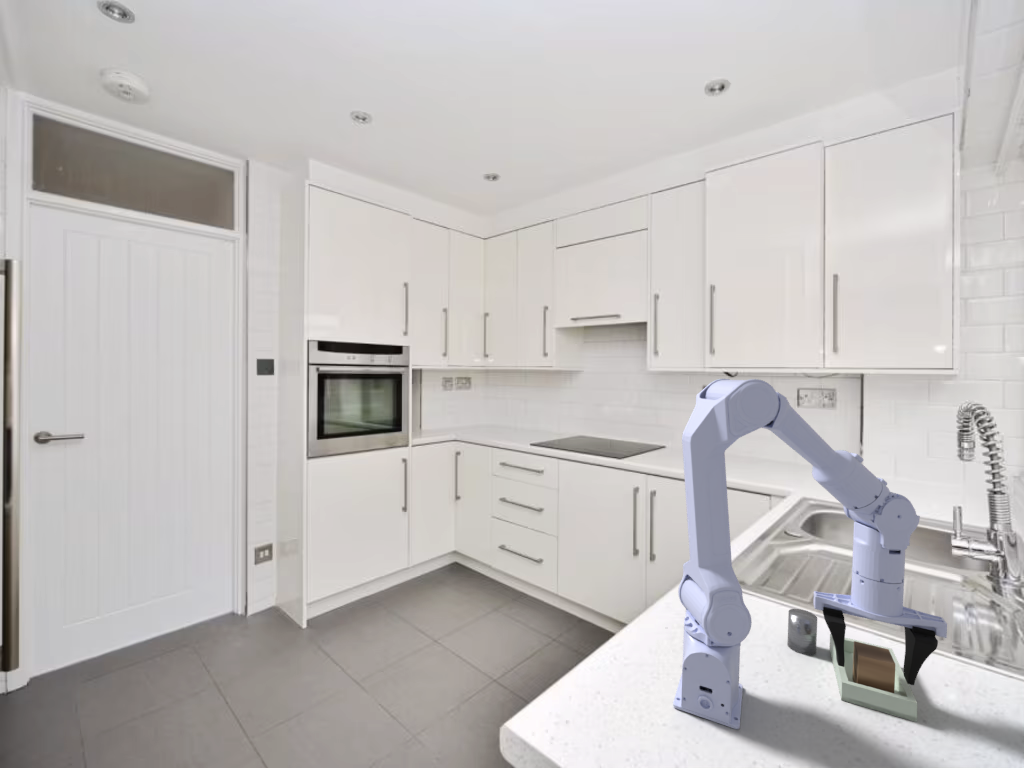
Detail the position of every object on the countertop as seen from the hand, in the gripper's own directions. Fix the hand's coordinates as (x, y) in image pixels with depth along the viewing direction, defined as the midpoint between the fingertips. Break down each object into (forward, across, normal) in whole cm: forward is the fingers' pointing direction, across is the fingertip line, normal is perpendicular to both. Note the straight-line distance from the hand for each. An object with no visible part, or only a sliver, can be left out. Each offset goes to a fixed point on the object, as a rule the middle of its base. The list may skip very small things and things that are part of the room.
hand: (873, 671), depth 65 cm
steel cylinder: (+3, +8, -8) cm, 12 cm away
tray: (+3, 0, -4) cm, 5 cm away
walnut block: (+3, 0, 0) cm, 3 cm away
